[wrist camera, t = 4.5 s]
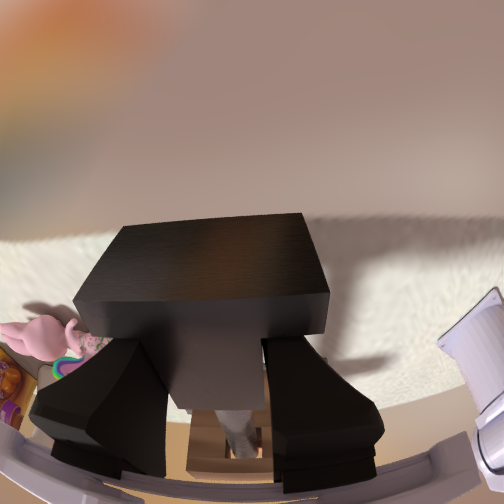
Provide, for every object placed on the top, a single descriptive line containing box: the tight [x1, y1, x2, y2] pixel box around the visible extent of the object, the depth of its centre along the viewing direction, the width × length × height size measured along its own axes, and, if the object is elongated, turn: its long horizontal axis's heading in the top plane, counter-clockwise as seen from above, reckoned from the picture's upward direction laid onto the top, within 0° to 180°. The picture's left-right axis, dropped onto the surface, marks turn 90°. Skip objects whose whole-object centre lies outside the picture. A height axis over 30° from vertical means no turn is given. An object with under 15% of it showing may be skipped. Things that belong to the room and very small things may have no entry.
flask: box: [29, 365, 68, 448], centre depth 22 cm, size 7×7×10 cm
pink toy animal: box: [0, 315, 113, 380], centre depth 19 cm, size 6×6×15 cm
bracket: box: [186, 371, 274, 481], centre depth 20 cm, size 3×8×9 cm, turn 94°
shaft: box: [73, 213, 330, 459], centre depth 14 cm, size 18×7×4 cm, turn 4°
